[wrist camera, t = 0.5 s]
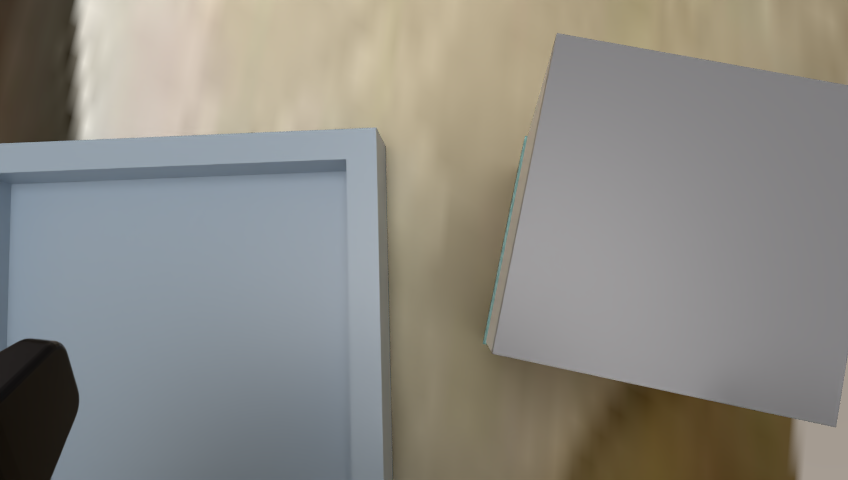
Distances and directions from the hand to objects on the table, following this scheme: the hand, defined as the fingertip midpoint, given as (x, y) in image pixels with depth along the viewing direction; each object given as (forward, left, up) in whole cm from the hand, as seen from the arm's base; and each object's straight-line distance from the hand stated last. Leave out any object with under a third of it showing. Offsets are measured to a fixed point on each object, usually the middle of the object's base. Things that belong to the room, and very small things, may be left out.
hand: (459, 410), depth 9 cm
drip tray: (+5, +6, -13) cm, 16 cm away
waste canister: (0, -4, -14) cm, 14 cm away
